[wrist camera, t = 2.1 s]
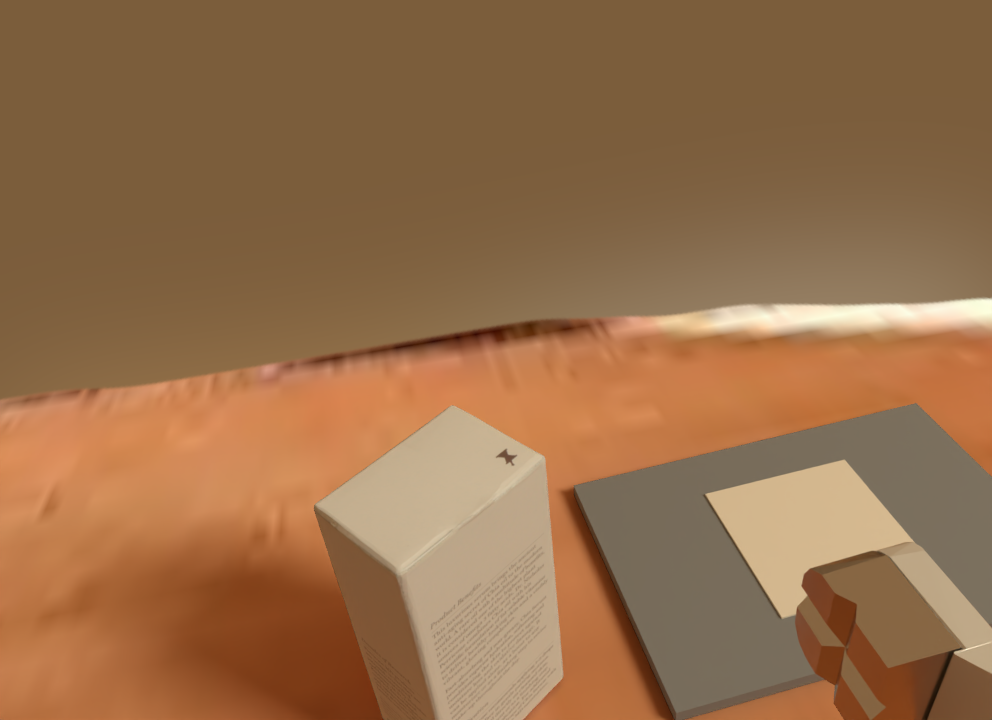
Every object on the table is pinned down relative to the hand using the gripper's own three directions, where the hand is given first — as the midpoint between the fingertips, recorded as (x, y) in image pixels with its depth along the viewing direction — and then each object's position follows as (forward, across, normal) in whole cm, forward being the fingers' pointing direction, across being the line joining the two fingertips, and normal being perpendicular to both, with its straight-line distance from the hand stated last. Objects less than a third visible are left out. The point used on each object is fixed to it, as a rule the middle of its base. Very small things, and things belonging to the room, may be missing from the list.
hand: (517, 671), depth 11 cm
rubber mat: (+15, -16, +20) cm, 30 cm away
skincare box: (+12, 0, +20) cm, 24 cm away
